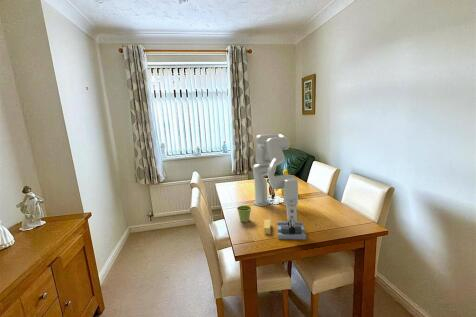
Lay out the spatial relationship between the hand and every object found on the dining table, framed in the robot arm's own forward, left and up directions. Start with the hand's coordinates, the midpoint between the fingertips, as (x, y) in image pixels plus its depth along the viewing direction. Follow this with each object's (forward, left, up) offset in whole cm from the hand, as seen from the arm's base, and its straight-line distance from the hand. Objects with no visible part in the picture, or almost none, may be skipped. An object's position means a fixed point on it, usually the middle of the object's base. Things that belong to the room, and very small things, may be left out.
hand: (291, 229), depth 129 cm
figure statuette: (-69, +1, -4) cm, 69 cm away
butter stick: (-7, -14, -4) cm, 16 cm away
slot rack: (-5, 0, -4) cm, 6 cm away
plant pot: (-19, -29, -4) cm, 34 cm away
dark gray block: (0, 0, -3) cm, 3 cm away
